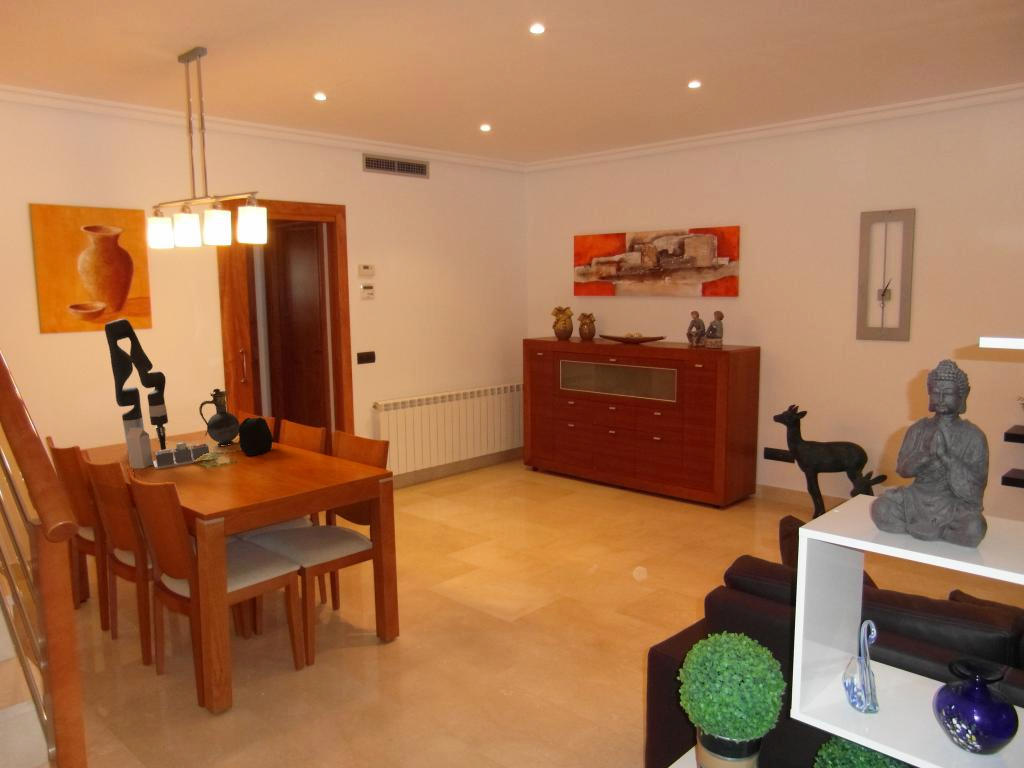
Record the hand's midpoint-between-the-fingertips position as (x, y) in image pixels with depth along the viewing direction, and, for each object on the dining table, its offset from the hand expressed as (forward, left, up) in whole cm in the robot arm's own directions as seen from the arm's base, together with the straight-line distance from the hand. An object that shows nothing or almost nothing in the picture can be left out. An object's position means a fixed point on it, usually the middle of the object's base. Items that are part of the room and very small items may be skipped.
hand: (163, 449), depth 365 cm
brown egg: (0, +16, -6) cm, 17 cm away
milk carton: (-3, -10, -8) cm, 13 cm away
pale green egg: (0, +8, -4) cm, 9 cm away
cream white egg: (0, 0, -6) cm, 6 cm away
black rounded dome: (+8, +41, -8) cm, 42 cm away
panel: (0, +8, -7) cm, 11 cm away
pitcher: (-20, +29, -8) cm, 36 cm away
